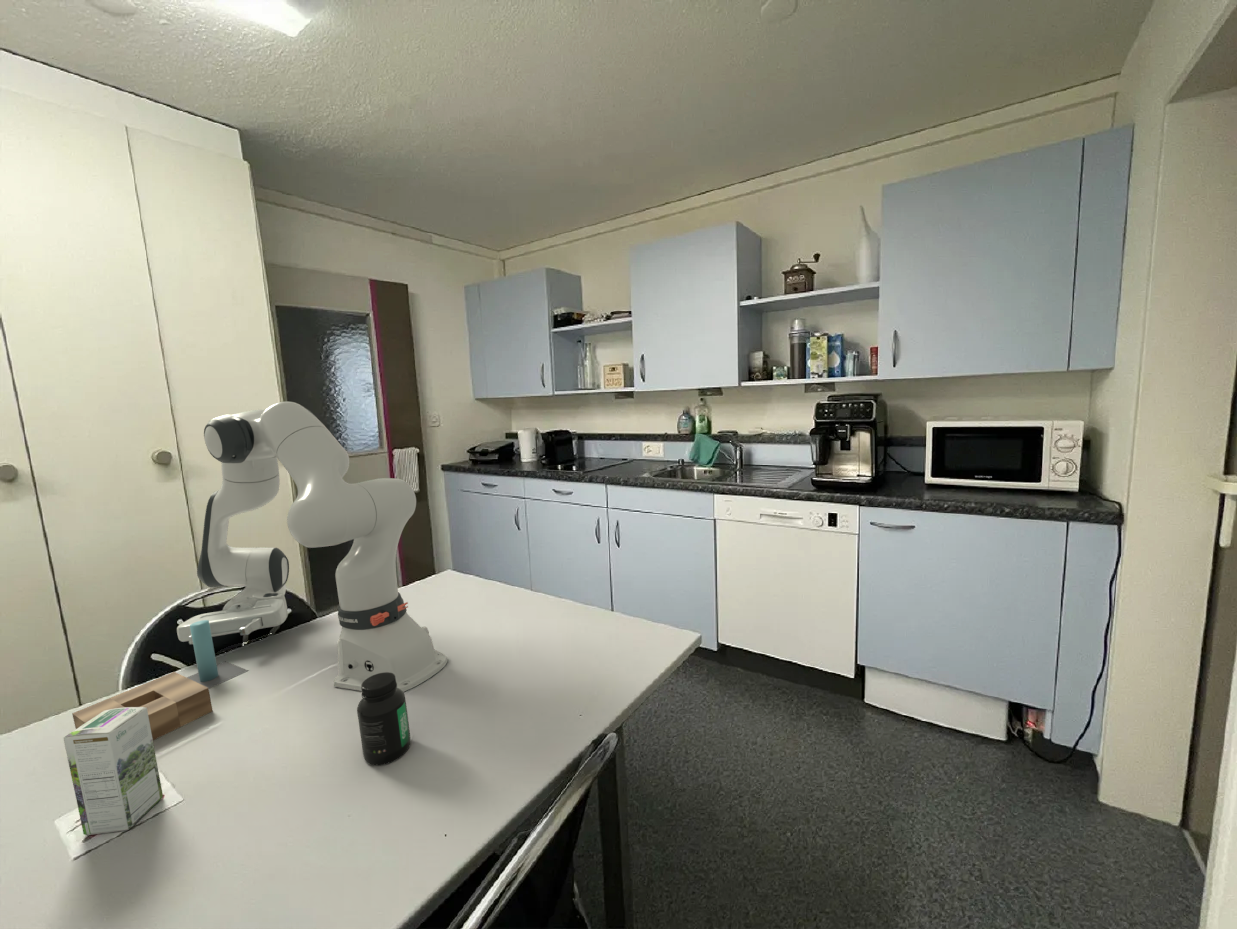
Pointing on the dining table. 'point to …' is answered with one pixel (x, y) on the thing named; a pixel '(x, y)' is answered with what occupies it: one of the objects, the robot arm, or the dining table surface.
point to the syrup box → (113, 769)
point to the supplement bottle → (383, 720)
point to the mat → (220, 674)
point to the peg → (204, 650)
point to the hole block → (158, 703)
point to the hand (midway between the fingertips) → (218, 636)
